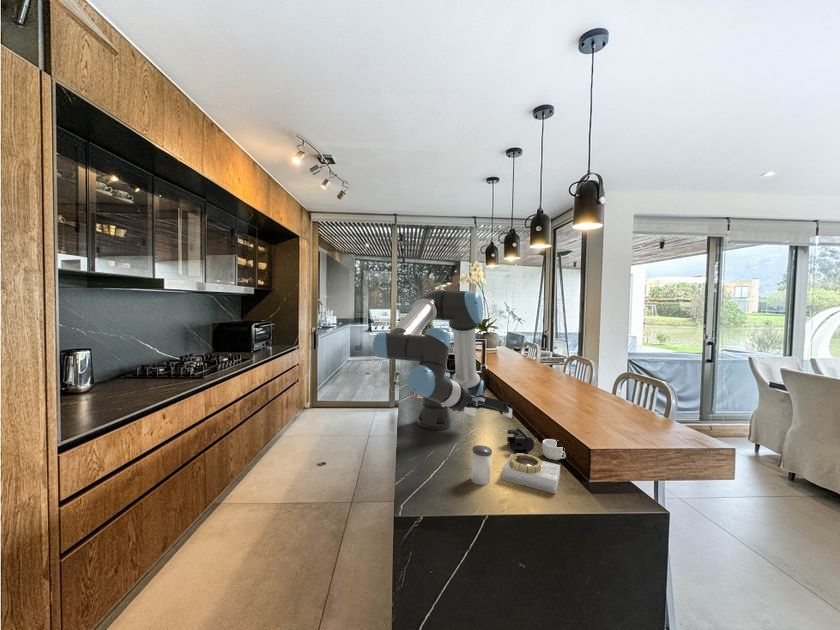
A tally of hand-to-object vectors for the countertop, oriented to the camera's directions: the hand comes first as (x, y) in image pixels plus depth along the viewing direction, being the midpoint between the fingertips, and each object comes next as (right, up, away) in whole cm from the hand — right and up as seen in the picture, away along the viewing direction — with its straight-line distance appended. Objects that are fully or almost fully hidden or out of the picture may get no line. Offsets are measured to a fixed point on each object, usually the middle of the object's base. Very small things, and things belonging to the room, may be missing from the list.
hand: (492, 413), depth 118 cm
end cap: (+15, -20, +23) cm, 34 cm away
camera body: (+13, -21, 0) cm, 25 cm away
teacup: (+26, -21, +16) cm, 37 cm away
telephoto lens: (-4, -20, -3) cm, 21 cm away
